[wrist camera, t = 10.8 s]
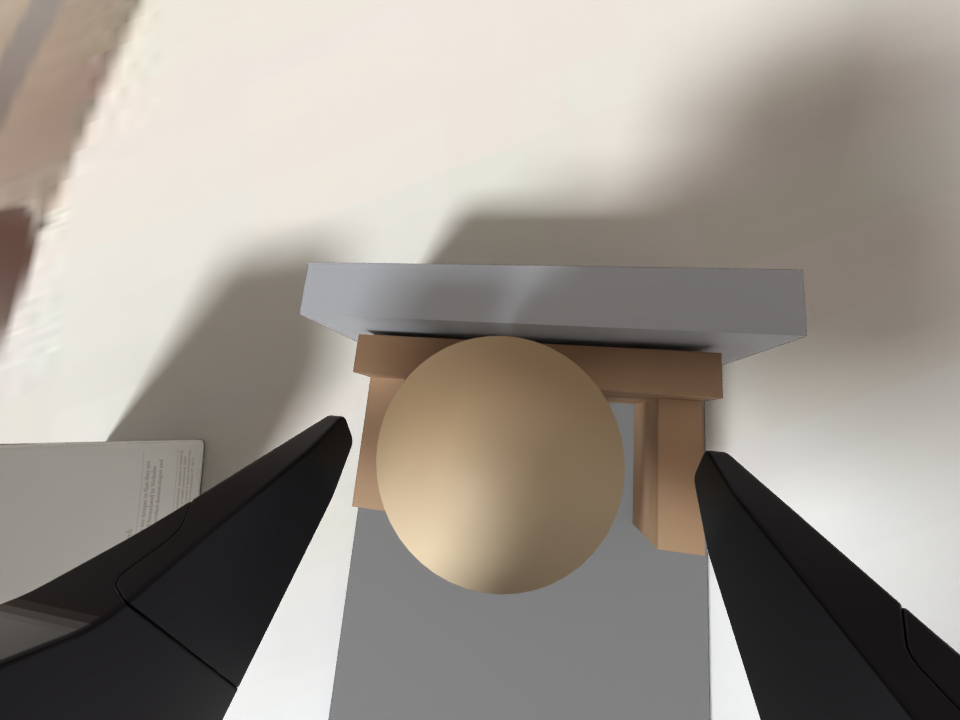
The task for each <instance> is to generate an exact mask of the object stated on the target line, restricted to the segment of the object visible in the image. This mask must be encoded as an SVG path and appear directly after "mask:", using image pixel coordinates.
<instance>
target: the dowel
mask: <svg viewBox="0 0 960 720" xmlns="http://www.w3.org/2000/svg"><path fill="white" fill-rule="evenodd" d="M376 470H377V481H378V487H379V492H380V496H381V499H382V503H383V506H384V509H385V511H386V514H387V516H388V519H389V521H390V523H391V525H392V527H393V528H394V530H395V532H396V533H397V535H398V537H399V538H400V540H401V541H402V542H403V544H404V545H405V546H406V548H407V549H408V550H409V551H410V552H411V553H412V554H413V555H414V556H415V557H416V558H417V559H418V560H419V561H420V562H421V563H422V564H423V565H424V566H426V567H427V568H428V569H429V570H431V571H432V572H433V573H435V574H436V575H438V576H440V577H442V578H443V579H445V580H447V581H449V582H451V583H453V584H456V585H458V586H460V587H463V588H465V589H469V590H473V591H477V592H481V593H490V594H499V595H500V594H518V593H524V592H529V591H534V590H537V589H540V588H543V587H545V586H548V585H551V584H553V583H555V582H557V581H559V580H560V579H562V578H564V577H566V576H568V575H569V574H570V573H572V572H573V571H574V570H576V569H577V568H578V567H580V566H581V565H582V564H583V563H584V562H585V561H586V560H587V559H588V558H589V557H590V556H591V555H592V554H593V553H594V552H595V551H596V549H597V548H598V547H599V545H600V544H601V543H602V541H603V540H604V538H605V537H606V535H607V533H608V531H609V529H610V528H611V526H612V524H613V522H614V519H615V516H616V514H617V511H618V508H619V505H620V501H621V497H622V492H623V487H624V475H625V462H624V450H623V444H622V438H621V434H620V431H619V428H618V424H617V421H616V418H615V416H614V414H613V412H612V410H611V408H610V405H609V403H608V402H607V400H606V398H605V397H604V395H603V394H602V392H601V391H600V389H599V388H598V386H597V385H596V384H595V383H594V382H593V380H592V379H591V378H590V377H589V376H588V375H587V374H586V373H585V372H584V371H583V370H582V369H581V368H580V367H579V366H578V365H577V364H575V363H574V362H573V361H571V360H570V359H568V358H567V357H566V356H564V355H563V354H561V353H559V352H557V351H555V350H554V349H552V348H550V347H548V346H545V345H542V344H540V343H537V342H535V341H531V340H527V339H523V338H518V337H510V336H486V337H478V338H473V339H469V340H465V341H462V342H458V343H456V344H454V345H451V346H449V347H446V348H444V349H443V350H441V351H439V352H437V353H436V354H434V355H432V356H431V357H430V358H428V359H427V360H426V361H424V362H423V363H422V364H420V365H419V366H418V367H417V368H416V369H415V370H414V371H413V372H412V373H411V374H410V375H409V376H408V377H407V379H406V380H405V381H404V382H403V384H402V385H401V386H400V387H399V389H398V391H397V392H396V394H395V395H394V397H393V399H392V400H391V403H390V405H389V407H388V409H387V411H386V413H385V416H384V419H383V422H382V425H381V428H380V433H379V438H378V443H377V455H376Z"/></svg>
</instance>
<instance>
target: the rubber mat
mask: <svg viewBox="0 0 960 720" xmlns="http://www.w3.org/2000/svg"><path fill="white" fill-rule="evenodd" d="M608 403H609V405H610V408H611V410H612V412H613V414H614V416H615V418H616V421H617V424H618V428H619V431H620V434H621V438H622V444H623V450H624V462H625V475H624V487H623V492H622V497H621V501H620V505H619V508H618V511H617V514H616V516H615V519H614V522H613V524H612V526H611V528H610V529H609V531H608V533H607V535H606V537H605V538H604V540H603V541H602V543H601V544H600V545H599V547H598V548H597V549H596V551H595V552H594V553H593V554H592V555H591V556H590V557H589V558H588V559H587V560H586V561H585V562H584V563H583V564H582V565H581V566H580V567H578V568H577V569H576V570H574V571H573V572H572V573H570V574H569V575H568V576H566V577H564V578H562V579H560V580H559V581H557V582H555V583H553V584H551V585H548V586H545V587H543V588H540V589H537V590H534V591H529V592H524V593H518V594H500V595H499V594H490V593H481V592H477V591H473V590H469V589H465V588H463V587H460V586H458V585H456V584H453V583H451V582H449V581H447V580H445V579H443V578H442V577H440V576H438V575H436V574H435V573H433V572H432V571H431V570H429V569H428V568H427V567H426V566H424V565H423V564H422V563H421V562H420V561H419V560H418V559H417V558H416V557H415V556H414V555H413V554H412V553H411V552H410V551H409V550H408V549H407V548H406V546H405V545H404V544H403V542H402V541H401V540H400V538H399V537H398V535H397V533H396V532H395V530H394V528H393V527H392V525H391V523H390V521H389V519H388V516H387V514H386V511H382V510H374V509H367V508H360V507H358V514H357V521H356V528H355V535H354V542H353V549H352V556H351V563H350V571H349V578H348V585H347V592H346V599H345V606H344V613H343V620H342V628H341V635H340V642H339V649H338V656H337V663H336V670H335V677H334V684H333V692H332V699H331V706H330V713H329V720H710V709H709V648H708V588H707V544H706V540H705V556H702V555H695V554H688V553H681V552H674V551H667V550H659V549H657V548H656V547H655V546H654V545H653V544H652V543H651V542H650V541H649V540H648V539H647V538H646V537H645V536H644V535H643V534H642V533H641V532H640V531H639V530H638V529H637V528H636V527H635V526H634V525H633V524H632V520H633V460H634V404H624V403H611V402H608ZM702 404H703V454H704V453H705V406H704V401H702Z"/></svg>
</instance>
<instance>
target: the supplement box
mask: <svg viewBox="0 0 960 720" xmlns="http://www.w3.org/2000/svg"><path fill="white" fill-rule="evenodd" d="M203 450H204V443H203V441H202V440H158V441H110V442H65V443H20V444H0V604H2V603H4V602H7V601H10V600H12V599H15V598H17V597H20V596H22V595H24V594H26V593H29V592H31V591H33V590H35V589H37V588H39V587H40V586H42V585H44V584H46V583H48V582H50V581H52V580H53V579H55V578H57V577H59V576H61V575H62V574H64V573H66V572H68V571H70V570H72V569H73V568H75V567H77V566H79V565H81V564H82V563H84V562H86V561H88V560H90V559H92V558H93V557H95V556H97V555H99V554H101V553H102V552H104V551H106V550H108V549H110V548H112V547H113V546H115V545H117V544H119V543H121V542H122V541H124V540H126V539H128V538H129V537H131V536H133V535H135V534H136V533H138V532H140V531H142V530H144V529H145V528H147V527H149V526H150V525H152V524H154V523H155V522H157V521H159V520H160V519H162V518H164V517H165V516H167V515H169V514H170V513H172V512H174V511H175V510H177V509H178V508H180V507H182V506H183V505H185V504H186V503H188V502H192V500H193V499H195V498H196V497H198V496H199V495H200V483H201V474H202V464H203Z"/></svg>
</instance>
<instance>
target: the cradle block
mask: <svg viewBox="0 0 960 720" xmlns="http://www.w3.org/2000/svg"><path fill="white" fill-rule="evenodd" d="M462 341H465V340H463V339H444V338H425V337H405V336H386V335H367V334H359V336H358V343H357V350H356V356H355V363H354V369H353V372H356V373H359V374H362V375H366V376H369V377H371V378H370V385H369V392H368V399H367V406H366V413H365V420H364V427H363V434H362V441H361V448H360V455H359V462H358V469H357V476H356V483H355V490H354V497H353V504H352V506H353V507H360V508H367V509H374V510H382V511H385V509H384V506H383V503H382V499H381V496H380V492H379V487H378V481H377V470H376V455H377V443H378V438H379V433H380V428H381V425H382V422H383V419H384V416H385V413H386V411H387V409H388V407H389V405H390V403H391V400H392V399H393V397H394V395H395V394H396V392H397V391H398V389H399V387H400V386H401V385H402V384H403V382H404V381H405V380H406V379H407V377H408V376H409V375H410V374H411V373H412V372H413V371H414V370H415V369H416V368H417V367H418V366H419V365H420V364H422V363H423V362H424V361H426V360H427V359H428V358H430V357H431V356H432V355H434V354H436V353H437V352H439V351H441V350H443V349H444V348H446V347H449V346H451V345H454V344H456V343H458V342H462ZM540 344H541V343H540ZM542 345H545V346H548V347H550V348H552V349H554V350H555V351H557V352H559V353H561V354H563V355H564V356H566V357H567V358H568V359H570V360H571V361H573V362H574V363H575V364H577V365H578V366H579V367H580V368H581V369H582V370H583V371H584V372H585V373H586V374H587V375H588V376H589V377H590V378H591V379H592V380H593V382H594V383H595V384H596V385H597V386H598V388H599V389H600V391H601V392H602V394H603V395H604V397H605V398H606V400H607V402H611V403H624V404H634V460H633V520H632V524H633V525H634V526H635V527H636V528H637V529H638V530H639V531H640V532H641V533H642V534H643V535H644V536H645V537H646V538H647V539H648V540H649V541H650V542H651V543H652V544H653V545H654V546H655V547H656V548H657V549H659V550H667V551H674V552H681V553H688V554H695V555H702V556H705V535H704V530H703V525H702V520H701V514H700V509H699V504H698V499H697V494H696V488H695V483H694V477H695V472H696V470H697V468H698V466H699V463H700V461H701V459H702V456H703V404H702V401H708V400H714V399H720V398H723V389H722V353H715V352H695V351H676V350H657V349H637V348H618V347H599V346H579V345H560V344H542Z"/></svg>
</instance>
